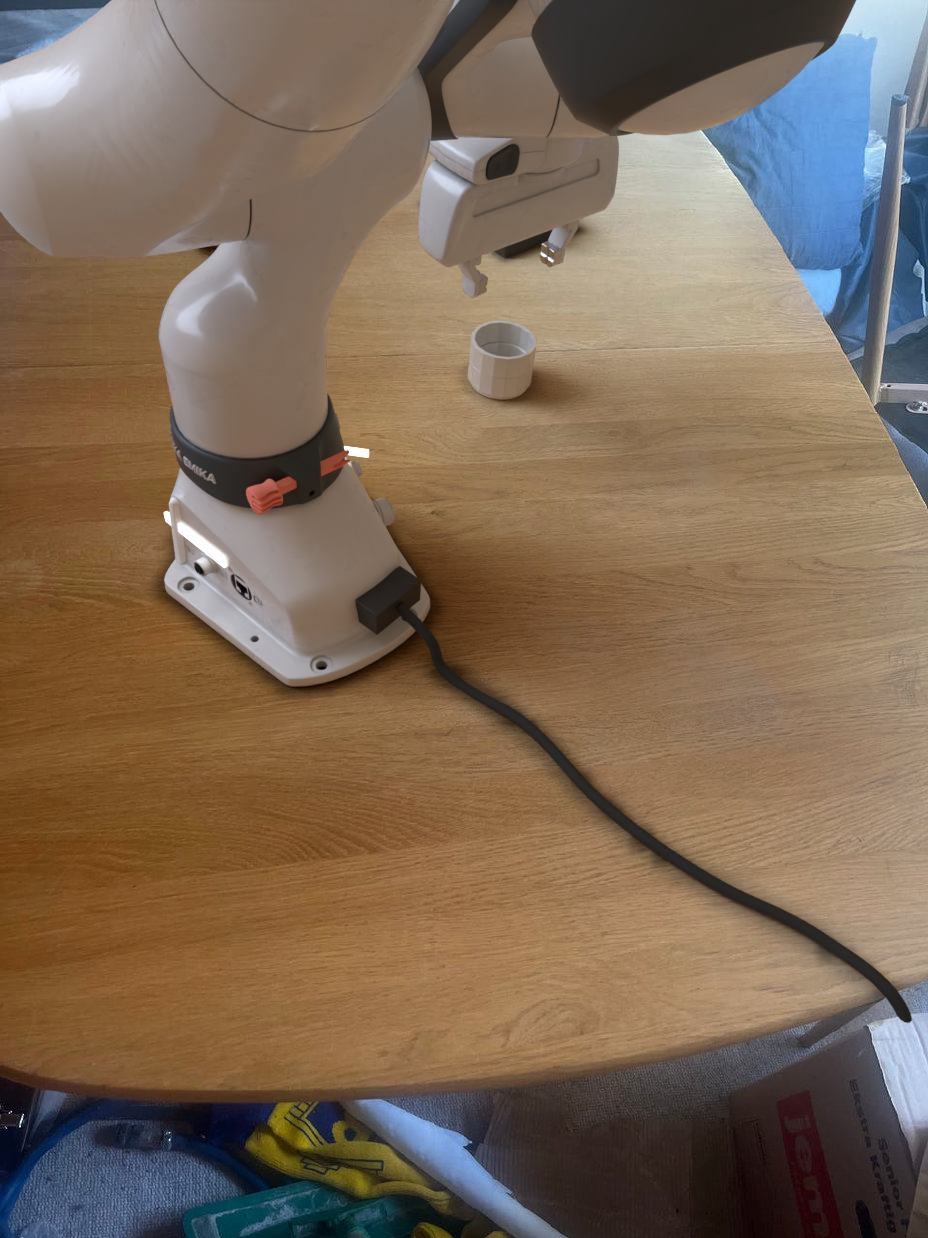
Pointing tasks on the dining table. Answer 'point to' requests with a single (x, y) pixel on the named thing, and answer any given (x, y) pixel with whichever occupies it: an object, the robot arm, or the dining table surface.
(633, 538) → the dining table surface
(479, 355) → the white cup
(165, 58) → the robot arm
